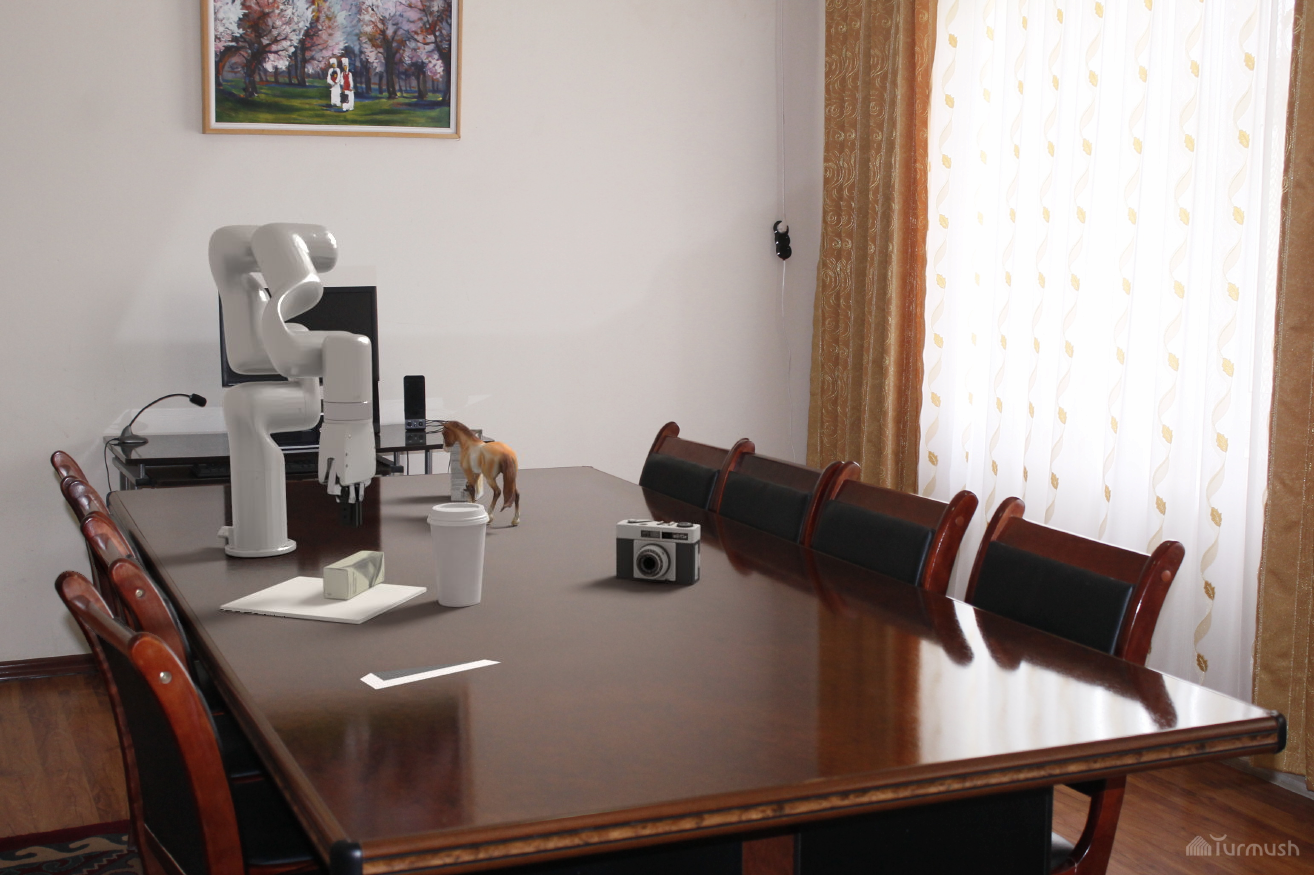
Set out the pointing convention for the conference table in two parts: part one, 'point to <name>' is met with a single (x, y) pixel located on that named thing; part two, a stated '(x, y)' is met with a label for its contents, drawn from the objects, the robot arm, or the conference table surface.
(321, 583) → the mat
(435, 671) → the white l-shaped strip
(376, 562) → the box
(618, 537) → the camera
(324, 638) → the conference table surface
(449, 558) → the coffee cup
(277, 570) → the conference table surface
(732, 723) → the conference table surface
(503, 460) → the horse figurine
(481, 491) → the coffee box
